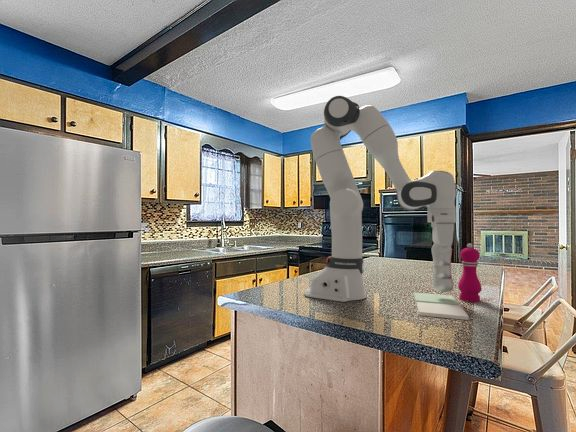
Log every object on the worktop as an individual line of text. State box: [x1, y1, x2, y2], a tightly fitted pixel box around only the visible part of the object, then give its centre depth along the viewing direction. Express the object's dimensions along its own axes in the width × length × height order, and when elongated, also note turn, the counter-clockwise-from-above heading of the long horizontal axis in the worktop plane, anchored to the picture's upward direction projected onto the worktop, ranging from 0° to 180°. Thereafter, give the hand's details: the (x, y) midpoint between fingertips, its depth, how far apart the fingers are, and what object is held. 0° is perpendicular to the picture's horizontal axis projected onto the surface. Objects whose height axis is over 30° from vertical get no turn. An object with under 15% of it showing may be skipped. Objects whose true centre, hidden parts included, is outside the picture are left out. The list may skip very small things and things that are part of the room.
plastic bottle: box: [431, 235, 454, 293], centre depth 109 cm, size 6×7×20 cm
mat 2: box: [415, 302, 470, 321], centre depth 96 cm, size 13×12×1 cm
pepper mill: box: [457, 243, 483, 303], centre depth 111 cm, size 7×7×20 cm
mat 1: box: [413, 292, 460, 306], centre depth 109 cm, size 13×12×1 cm
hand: (441, 257), depth 109 cm, fingers closed on plastic bottle, 6 cm apart
